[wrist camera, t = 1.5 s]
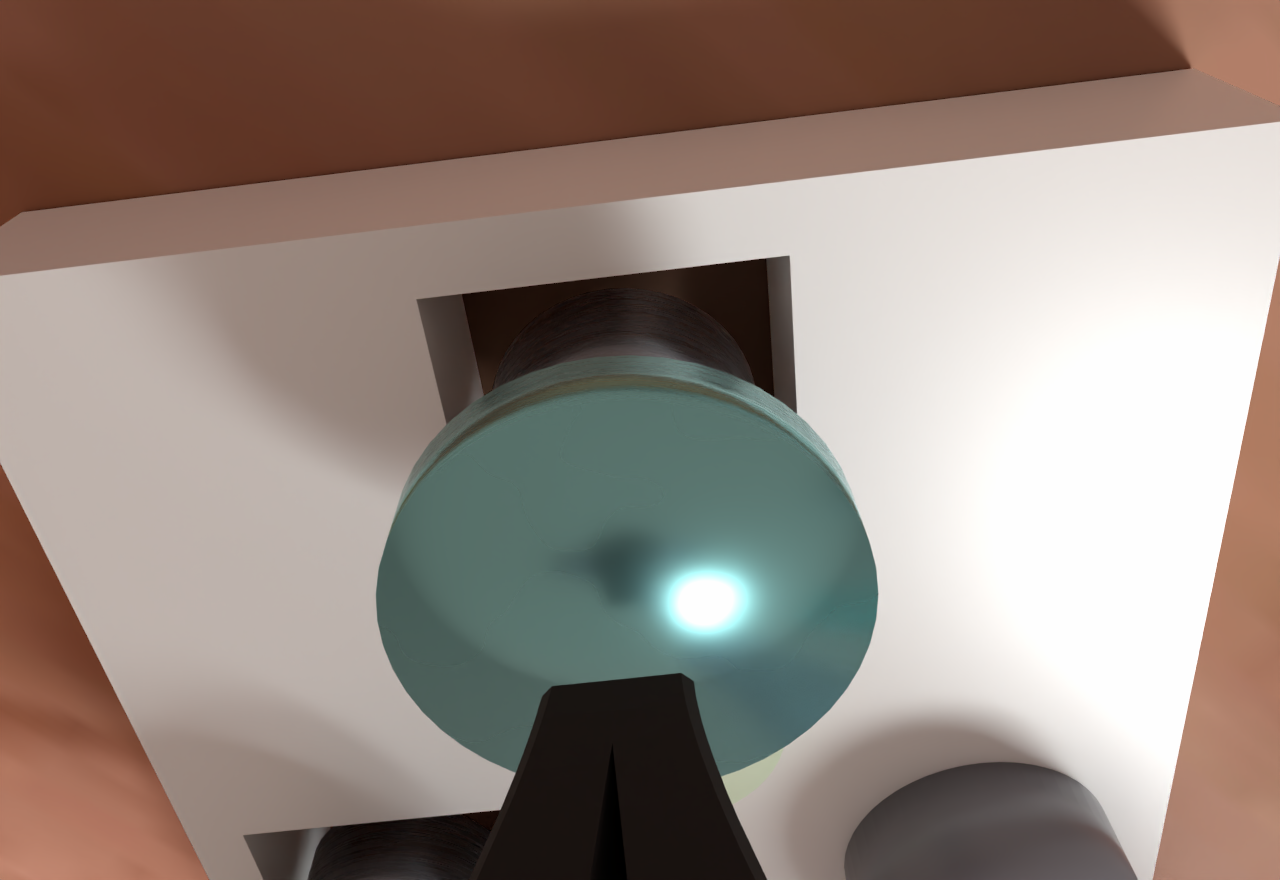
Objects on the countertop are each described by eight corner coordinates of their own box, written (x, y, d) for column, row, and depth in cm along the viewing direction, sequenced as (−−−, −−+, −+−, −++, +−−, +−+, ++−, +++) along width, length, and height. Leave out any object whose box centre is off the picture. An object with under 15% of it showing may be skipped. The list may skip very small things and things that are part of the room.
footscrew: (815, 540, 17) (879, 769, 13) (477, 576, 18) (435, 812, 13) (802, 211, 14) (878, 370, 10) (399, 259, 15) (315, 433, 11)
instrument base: (1078, 857, 25) (1175, 1075, 21) (328, 927, 26) (270, 1152, 21) (1193, 68, 16) (1412, 163, 11) (22, 212, 16) (-188, 353, 12)
